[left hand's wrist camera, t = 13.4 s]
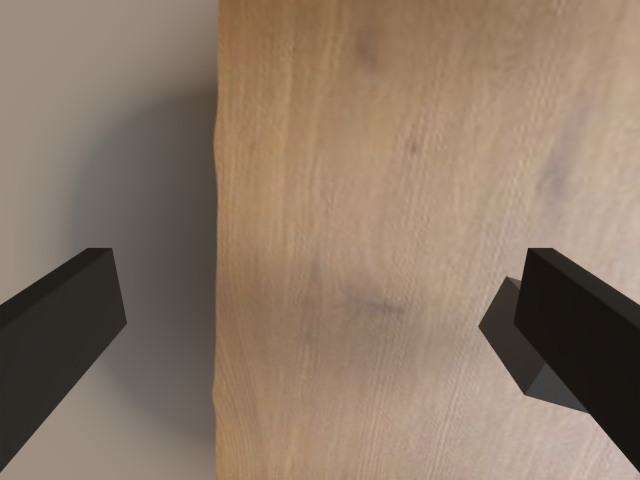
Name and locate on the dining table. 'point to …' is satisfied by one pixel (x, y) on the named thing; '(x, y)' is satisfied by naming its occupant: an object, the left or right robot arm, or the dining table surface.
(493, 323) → the bar
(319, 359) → the dining table surface
